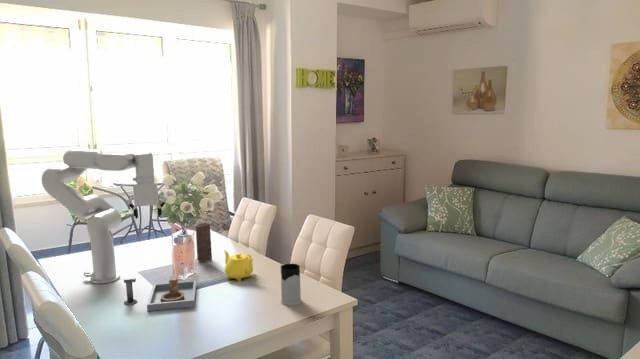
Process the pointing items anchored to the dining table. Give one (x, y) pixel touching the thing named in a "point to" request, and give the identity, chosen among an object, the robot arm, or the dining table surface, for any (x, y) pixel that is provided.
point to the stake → (129, 291)
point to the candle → (203, 242)
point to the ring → (173, 290)
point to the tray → (163, 288)
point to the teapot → (238, 266)
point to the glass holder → (290, 285)
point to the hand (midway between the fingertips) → (148, 217)
